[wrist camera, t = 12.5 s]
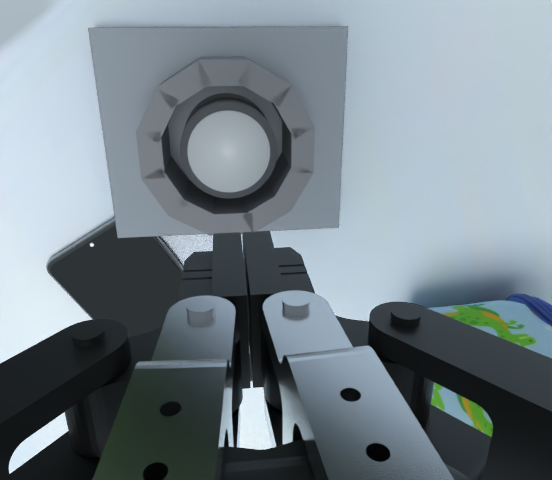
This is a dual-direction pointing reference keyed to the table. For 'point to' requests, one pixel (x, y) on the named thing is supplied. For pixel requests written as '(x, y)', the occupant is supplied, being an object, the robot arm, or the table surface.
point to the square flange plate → (204, 83)
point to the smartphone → (120, 278)
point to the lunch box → (507, 325)
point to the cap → (228, 146)
